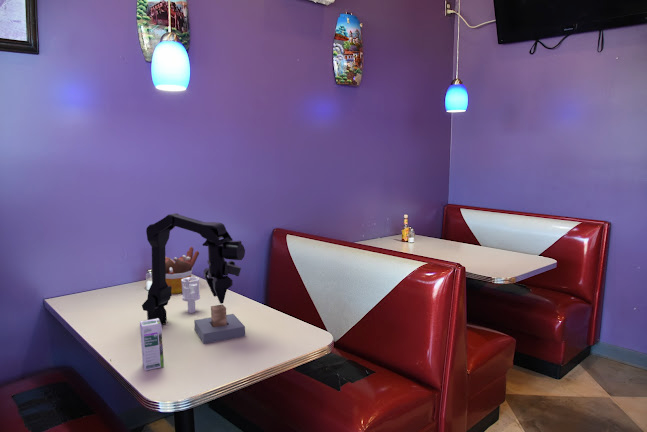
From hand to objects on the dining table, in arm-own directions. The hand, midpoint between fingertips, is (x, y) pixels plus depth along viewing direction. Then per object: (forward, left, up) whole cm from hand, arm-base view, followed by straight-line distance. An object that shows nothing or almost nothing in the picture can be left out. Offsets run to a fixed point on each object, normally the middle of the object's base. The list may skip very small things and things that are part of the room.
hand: (218, 299), depth 175 cm
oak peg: (0, 0, -12) cm, 12 cm away
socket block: (0, 0, -13) cm, 13 cm away
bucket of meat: (-5, +61, -13) cm, 63 cm away
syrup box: (-26, -17, -13) cm, 33 cm away
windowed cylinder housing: (-5, +28, -13) cm, 31 cm away
